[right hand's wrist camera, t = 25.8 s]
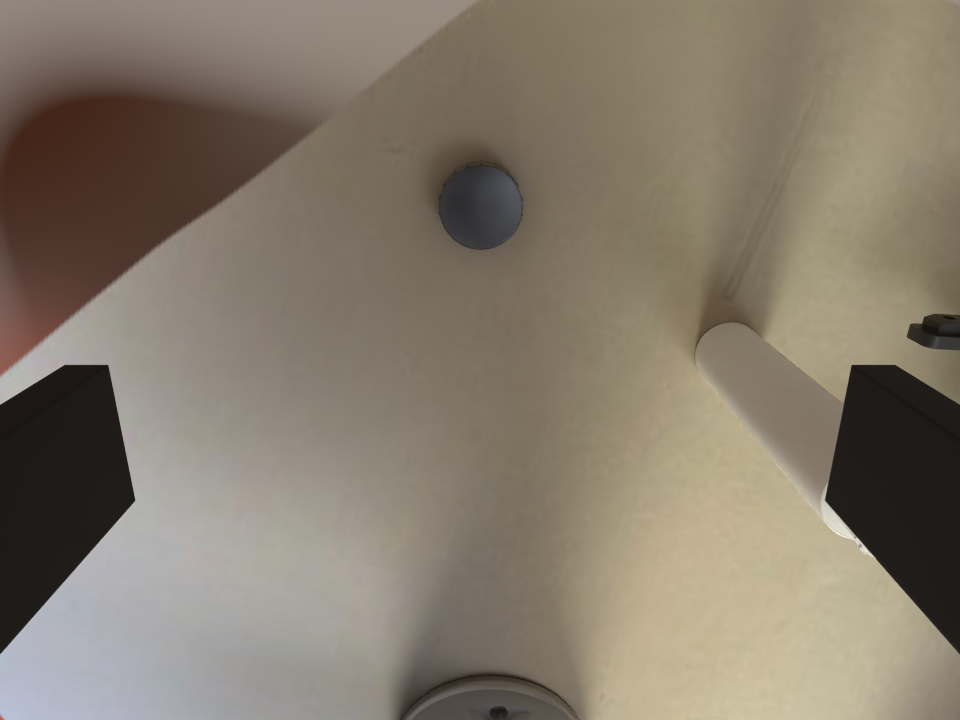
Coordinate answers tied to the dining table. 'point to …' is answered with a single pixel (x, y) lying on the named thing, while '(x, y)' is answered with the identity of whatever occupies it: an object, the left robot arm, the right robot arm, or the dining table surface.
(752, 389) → the bottle
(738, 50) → the dining table surface
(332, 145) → the dining table surface
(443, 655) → the dining table surface
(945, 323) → the left robot arm
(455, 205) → the lid
